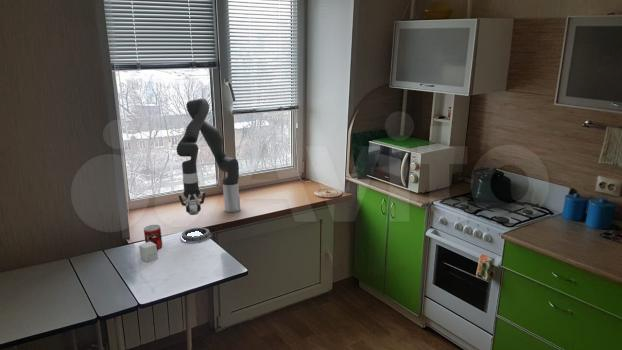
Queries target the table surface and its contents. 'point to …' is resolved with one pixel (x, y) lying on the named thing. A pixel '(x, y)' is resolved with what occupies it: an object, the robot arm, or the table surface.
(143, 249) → the product box
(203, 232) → the ring
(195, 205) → the piston
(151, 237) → the canned food
